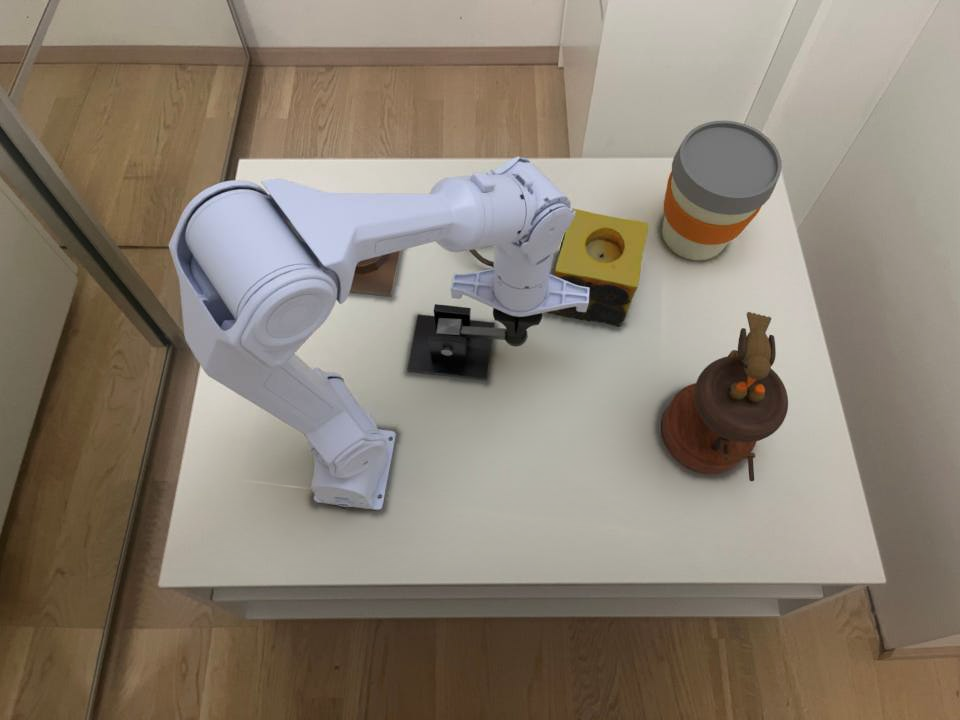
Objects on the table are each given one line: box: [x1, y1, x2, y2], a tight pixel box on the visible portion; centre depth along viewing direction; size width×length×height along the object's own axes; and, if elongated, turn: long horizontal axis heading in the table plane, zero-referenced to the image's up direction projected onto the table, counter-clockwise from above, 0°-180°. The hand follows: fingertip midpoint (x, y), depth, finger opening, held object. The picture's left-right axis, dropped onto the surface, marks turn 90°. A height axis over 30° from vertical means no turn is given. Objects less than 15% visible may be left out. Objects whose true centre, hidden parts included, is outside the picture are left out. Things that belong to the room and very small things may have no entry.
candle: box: [546, 207, 649, 327], centre depth 84 cm, size 10×10×10 cm
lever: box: [436, 318, 529, 347], centre depth 80 cm, size 11×3×3 cm, turn 83°
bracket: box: [407, 303, 495, 382], centre depth 82 cm, size 10×8×7 cm
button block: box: [349, 250, 402, 298], centre depth 90 cm, size 12×10×3 cm
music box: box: [660, 311, 789, 482], centre depth 71 cm, size 15×11×20 cm
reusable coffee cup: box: [661, 120, 783, 261], centre depth 86 cm, size 13×13×15 cm
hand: (516, 329), depth 78 cm, fingers closed
